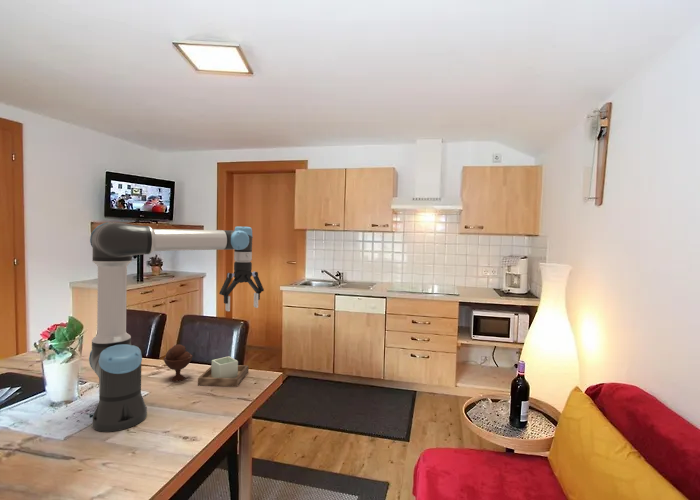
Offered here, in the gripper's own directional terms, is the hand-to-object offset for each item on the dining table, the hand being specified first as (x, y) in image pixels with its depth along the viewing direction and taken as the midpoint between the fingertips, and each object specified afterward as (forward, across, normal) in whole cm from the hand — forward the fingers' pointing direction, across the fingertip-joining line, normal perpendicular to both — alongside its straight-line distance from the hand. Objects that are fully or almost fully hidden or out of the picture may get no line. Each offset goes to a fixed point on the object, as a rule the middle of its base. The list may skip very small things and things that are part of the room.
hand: (242, 309), depth 163 cm
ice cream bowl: (+29, -23, +11) cm, 39 cm away
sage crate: (+28, -8, -2) cm, 29 cm away
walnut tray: (+29, -8, -1) cm, 30 cm away
